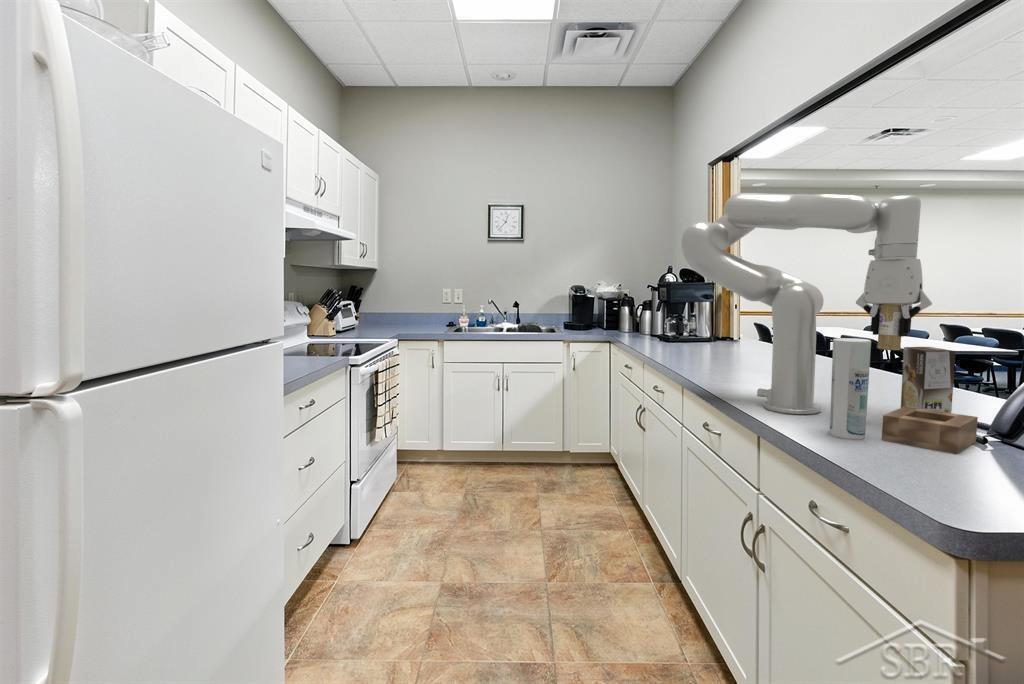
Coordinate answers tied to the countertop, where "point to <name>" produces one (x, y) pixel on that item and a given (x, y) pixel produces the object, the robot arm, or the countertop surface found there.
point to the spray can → (849, 387)
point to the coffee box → (928, 378)
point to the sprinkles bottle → (889, 327)
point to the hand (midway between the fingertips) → (889, 334)
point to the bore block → (930, 429)
